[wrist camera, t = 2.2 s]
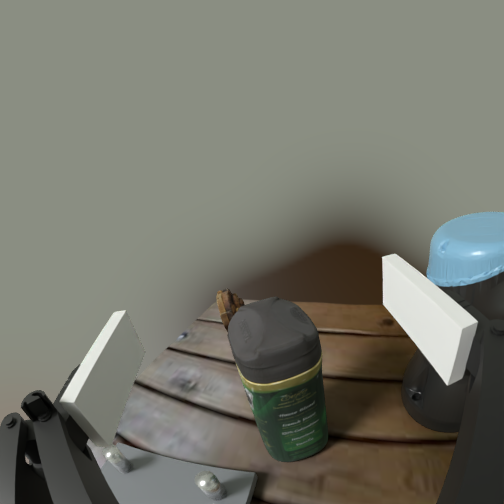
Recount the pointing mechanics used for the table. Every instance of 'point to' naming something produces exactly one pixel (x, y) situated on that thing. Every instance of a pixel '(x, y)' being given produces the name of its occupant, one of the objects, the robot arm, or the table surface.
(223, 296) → the wooden carving
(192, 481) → the base plate
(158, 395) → the table surface
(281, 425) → the coffee jar
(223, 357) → the table surface
